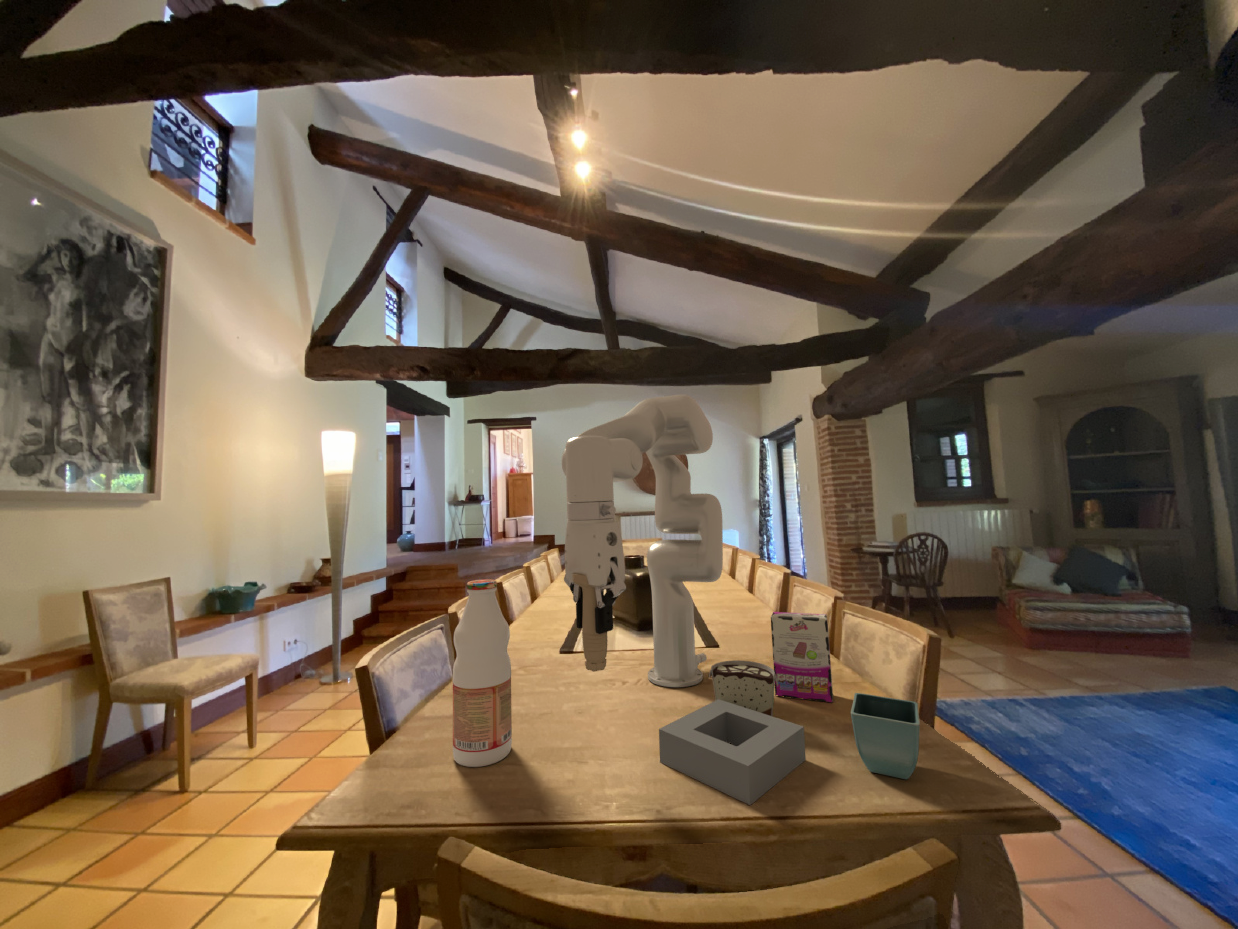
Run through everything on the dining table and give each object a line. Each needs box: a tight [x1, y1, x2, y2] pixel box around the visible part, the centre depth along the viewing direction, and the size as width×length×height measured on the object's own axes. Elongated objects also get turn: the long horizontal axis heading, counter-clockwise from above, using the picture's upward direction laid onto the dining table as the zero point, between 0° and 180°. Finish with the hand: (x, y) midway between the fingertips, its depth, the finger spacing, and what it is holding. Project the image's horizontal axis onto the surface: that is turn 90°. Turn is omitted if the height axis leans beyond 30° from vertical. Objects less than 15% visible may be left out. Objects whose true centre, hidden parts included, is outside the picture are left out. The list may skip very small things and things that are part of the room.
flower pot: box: [850, 692, 921, 780], centre depth 74 cm, size 9×9×9 cm
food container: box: [708, 659, 778, 717], centre depth 91 cm, size 12×6×10 cm, turn 65°
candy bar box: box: [770, 611, 834, 703], centre depth 102 cm, size 11×5×16 cm, turn 68°
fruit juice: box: [452, 578, 513, 768], centre depth 82 cm, size 9×9×28 cm
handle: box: [572, 573, 610, 672], centre depth 78 cm, size 5×6×15 cm
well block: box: [658, 699, 807, 806], centre depth 77 cm, size 16×16×5 cm
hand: (594, 628), depth 78 cm, fingers closed on handle, 3 cm apart
